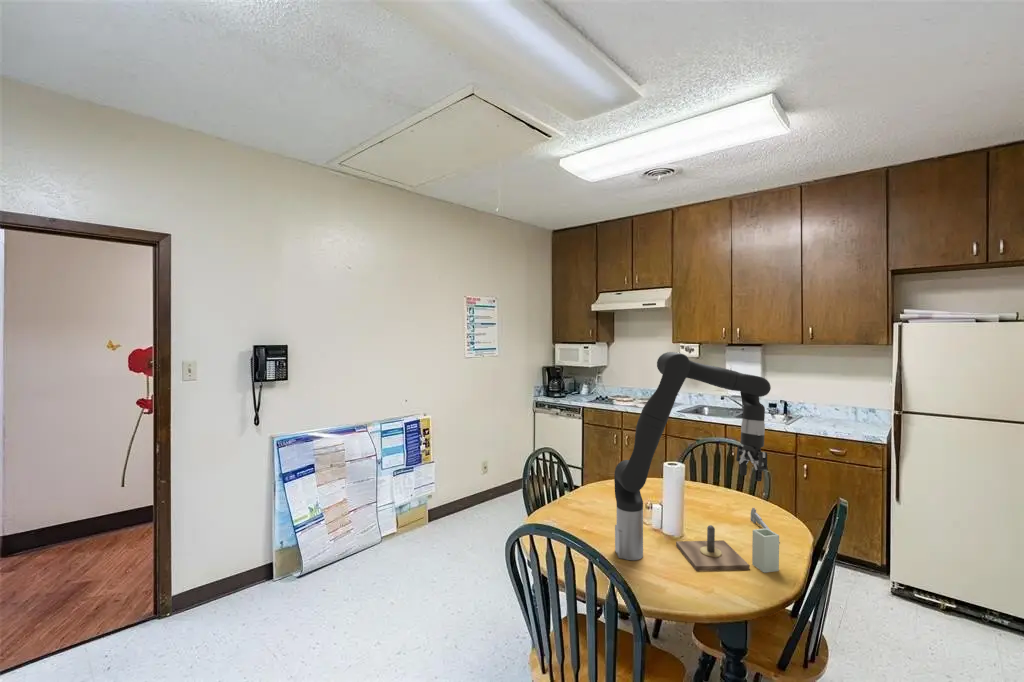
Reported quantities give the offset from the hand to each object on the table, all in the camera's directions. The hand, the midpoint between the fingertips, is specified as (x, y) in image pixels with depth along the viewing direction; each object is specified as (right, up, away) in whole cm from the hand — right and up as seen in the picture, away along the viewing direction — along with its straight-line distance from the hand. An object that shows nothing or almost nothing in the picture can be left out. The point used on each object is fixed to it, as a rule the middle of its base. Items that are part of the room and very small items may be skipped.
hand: (750, 477), depth 169 cm
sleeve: (0, -28, -9) cm, 29 cm away
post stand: (-15, -27, -2) cm, 31 cm away
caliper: (+15, -27, +18) cm, 35 cm away
